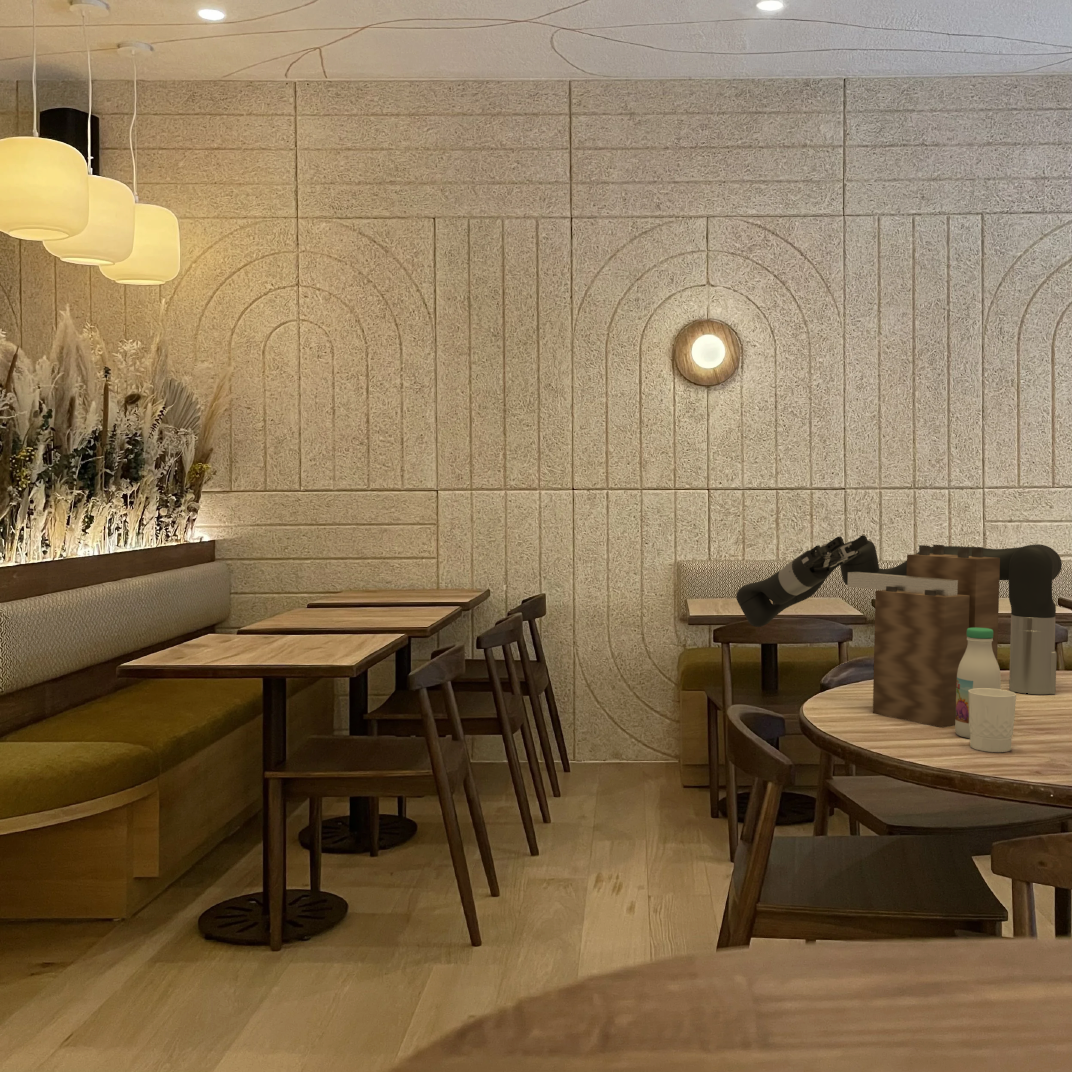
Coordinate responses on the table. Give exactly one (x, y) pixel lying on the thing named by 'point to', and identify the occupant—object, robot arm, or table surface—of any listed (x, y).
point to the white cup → (991, 719)
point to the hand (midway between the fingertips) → (854, 539)
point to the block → (903, 583)
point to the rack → (931, 634)
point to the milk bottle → (975, 674)
